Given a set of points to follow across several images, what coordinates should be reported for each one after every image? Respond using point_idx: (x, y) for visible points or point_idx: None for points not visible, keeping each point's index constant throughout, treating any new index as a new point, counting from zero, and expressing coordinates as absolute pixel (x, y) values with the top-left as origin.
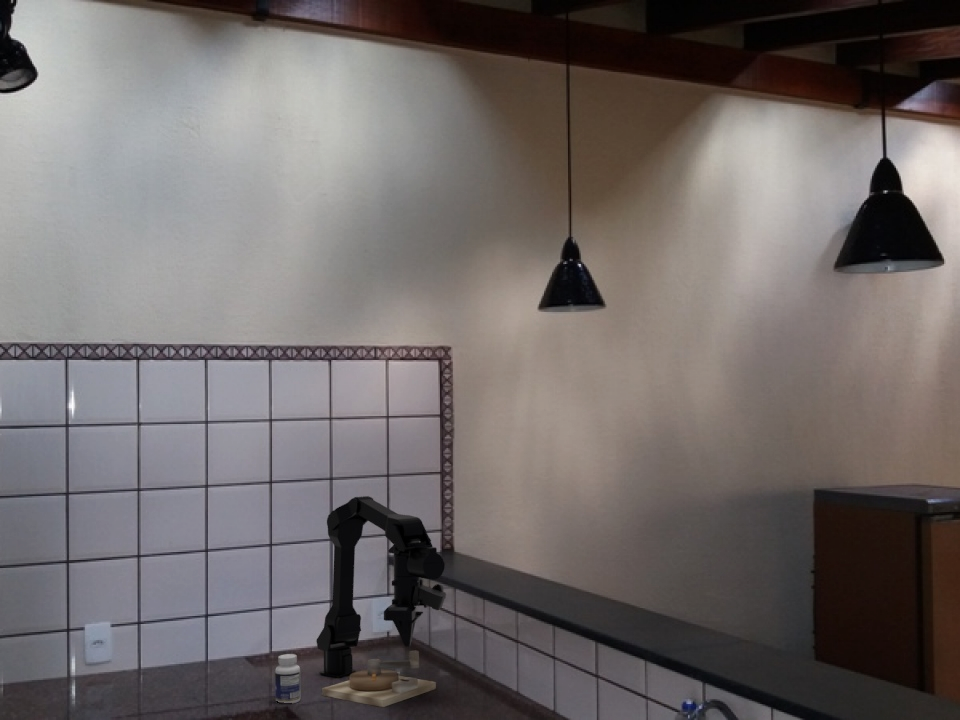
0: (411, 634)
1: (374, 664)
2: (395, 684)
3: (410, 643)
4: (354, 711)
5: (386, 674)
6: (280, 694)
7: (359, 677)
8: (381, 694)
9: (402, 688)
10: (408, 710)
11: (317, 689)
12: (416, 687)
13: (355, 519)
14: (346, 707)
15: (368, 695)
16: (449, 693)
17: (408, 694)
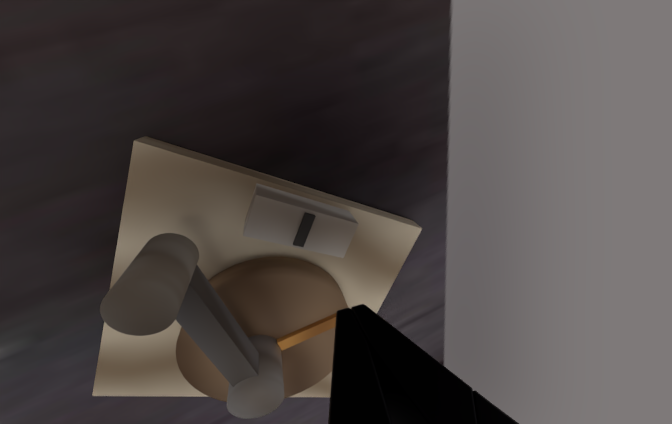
0: (419, 375)
1: (280, 377)
2: (349, 241)
3: (353, 317)
4: (445, 265)
5: (250, 319)
6: None
7: (313, 363)
8: (366, 257)
9: (343, 213)
10: (439, 139)
11: (280, 413)
12: (263, 186)
13: None
14: (415, 294)
15: (379, 283)
16: (196, 49)
17: (314, 192)
